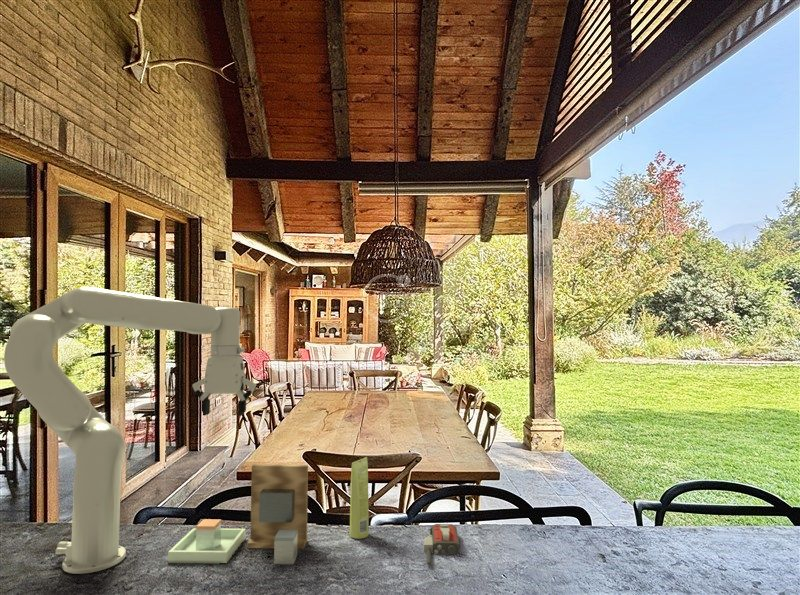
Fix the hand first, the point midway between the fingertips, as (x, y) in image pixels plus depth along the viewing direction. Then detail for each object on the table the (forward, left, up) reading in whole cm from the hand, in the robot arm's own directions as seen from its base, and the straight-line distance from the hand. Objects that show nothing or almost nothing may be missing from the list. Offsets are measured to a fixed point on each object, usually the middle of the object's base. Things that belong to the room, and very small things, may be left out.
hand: (223, 414), depth 138 cm
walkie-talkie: (+59, -12, -31) cm, 68 cm away
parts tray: (+2, -14, -30) cm, 33 cm away
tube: (+38, -4, -31) cm, 49 cm away
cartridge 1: (+2, -14, -30) cm, 33 cm away
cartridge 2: (+22, -18, -30) cm, 42 cm away
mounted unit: (+18, -10, -30) cm, 37 cm away
